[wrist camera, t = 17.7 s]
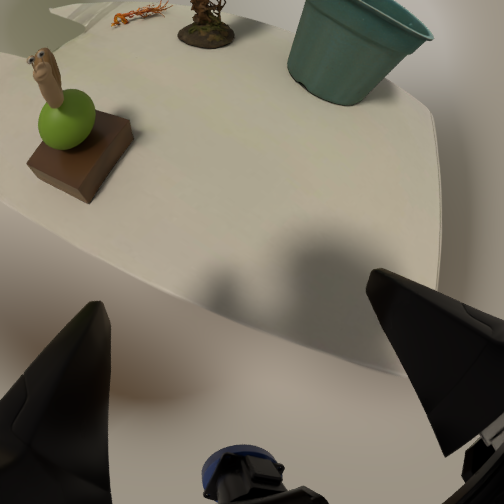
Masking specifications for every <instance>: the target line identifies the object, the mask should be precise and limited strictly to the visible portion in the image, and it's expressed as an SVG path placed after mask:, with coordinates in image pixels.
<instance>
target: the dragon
mask: <svg viewBox="0 0 504 504" xmlns="http://www.w3.org/2000/svg"><path fill="white" fill-rule="evenodd" d="M167 3H168V2H167ZM167 3H166V4H167ZM166 4H165V5H166ZM150 5H151V4H150ZM150 5H148V6H149V7H150ZM160 5H161V2H160ZM160 5H159V6H160ZM165 5H164V6H165ZM152 6H154V5H152ZM159 6H158V7H157V9H156V8H149V7H148V8H147V9H145V8H144V7H143V8H144V9H145V10H143V9H142V8H141V11H140V12H139V11H138V10H139V9H140V8H139V9H138V10H137V11H138V12H136V11H135V12H134V11H130V12H133V13H130V12H129V13H125V14H120V13H119V14H116V15H115V16H114V22H115V23H111V24H112V25H111V26H116V25H115V24H119V22H118V20H117V17H119V18H120V19H121V21H122V22H123V23H124V24H126V23H128V21H127V19H125V17H127V16H129V18H132V17H133V16H134V15H133V14H136V15H137V16H138V15H141V14H143V15H144V13H146V12H147V13H149V12H154V11H157V12H154V13H160V12H158V11H161V12H162V11H163V10H166V9H167V8H166V9H162V8H164V6H163V7H161V6H160V7H161V8H160V7H159ZM172 6H173V5H172ZM165 7H166V6H165ZM170 7H171V6H170ZM170 7H169V8H170ZM158 8H160V9H161V10H160V9H158ZM148 9H149V10H148ZM150 9H151V10H150ZM147 13H146V15H147ZM152 14H153V13H152ZM130 15H133V16H130ZM150 15H151V14H150ZM141 16H142V15H141ZM148 16H149V15H148ZM163 16H164V15H163ZM145 17H147V16H145V15H144V16H143V18H145Z"/></svg>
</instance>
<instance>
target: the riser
mask: <svg viewBox="0 0 504 504" xmlns="http://www.w3.org/2000/svg"><path fill="white" fill-rule="evenodd" d="M95 113H96V115H95V122H94V125H93V128H92V130H91V132H90V134H89V135H88V136H87V138H86V139H85V140H84V141H83V142H81V143H80V144H79V145H77V146H75V147H73V148H71V149H67V150H57V149H53V148H51V147H49V146H48V145H47V144H46V143H45V142H44V141H42V142H41V144H40V145H39V146H38V148H37V149H36V150H35V152H34V153H33V155H32V156H31V157H30V159H29V160H28V162H27V163H26V164H27V165H28V167H29V168H30V169H31V170H32V171H33V173H34V174H35V175H36V176H37V177H38V178H39V179H41V180H43V181H45V182H46V183H48V184H50V185H52V186H54V187H56V188H58V189H60V190H62V191H64V192H66V193H68V194H70V195H72V196H74V197H75V198H77V199H79V200H81V201H83V202H85V203H87V204H89V203H90V202H91V200H92V198H93V197H94V195H95V194H96V192H97V190H98V189H99V187H100V186H101V184H102V183H103V181H104V180H105V178H106V177H107V175H108V174H109V172H110V171H111V169H112V168H113V167H114V165H115V164H116V162H117V161H118V160H119V158H120V157H121V155H122V154H123V153H124V151H125V150H126V149H127V147H128V146H129V145H130V143H131V142H132V141H133V140H134V137H133V133H132V129H131V125H130V121H129V120H127V119H124V118H121V117H118V116H115V115H111V114H108V113H105V112H101V111H98V110H95Z"/></svg>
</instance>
